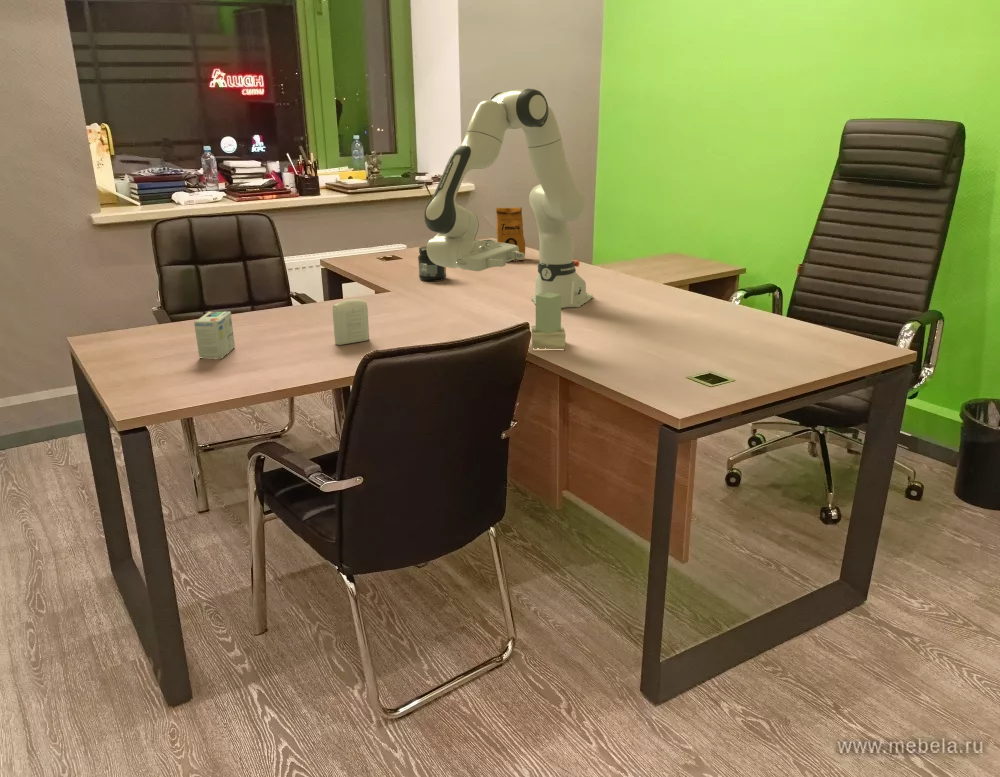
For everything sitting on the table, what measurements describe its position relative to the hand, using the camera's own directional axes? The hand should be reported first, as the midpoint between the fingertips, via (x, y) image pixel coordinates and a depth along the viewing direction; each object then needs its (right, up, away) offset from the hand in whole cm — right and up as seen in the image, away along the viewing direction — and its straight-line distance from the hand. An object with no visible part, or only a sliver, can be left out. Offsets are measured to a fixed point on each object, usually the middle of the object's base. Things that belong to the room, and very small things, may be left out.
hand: (513, 259), depth 228 cm
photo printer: (-46, -23, +7) cm, 52 cm away
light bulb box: (-82, -27, -2) cm, 86 cm away
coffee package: (+1, +18, +116) cm, 118 cm away
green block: (+10, -20, -1) cm, 22 cm away
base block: (+10, -24, +1) cm, 26 cm away
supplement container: (-30, +6, +83) cm, 89 cm away
